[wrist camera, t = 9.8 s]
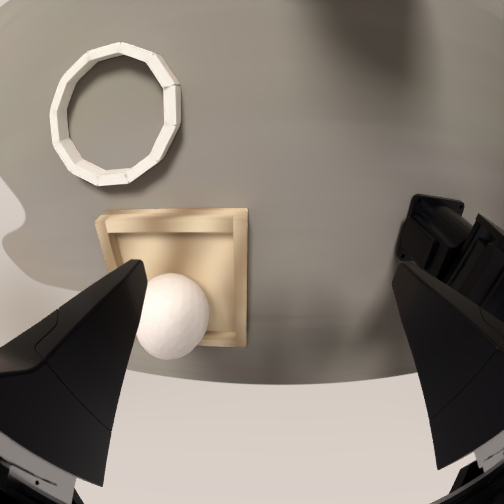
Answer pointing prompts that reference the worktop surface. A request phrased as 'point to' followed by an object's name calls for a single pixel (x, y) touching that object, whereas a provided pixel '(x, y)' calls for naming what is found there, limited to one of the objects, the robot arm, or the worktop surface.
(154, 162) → the white faceted hoop
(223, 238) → the tray
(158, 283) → the egg
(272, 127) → the worktop surface
